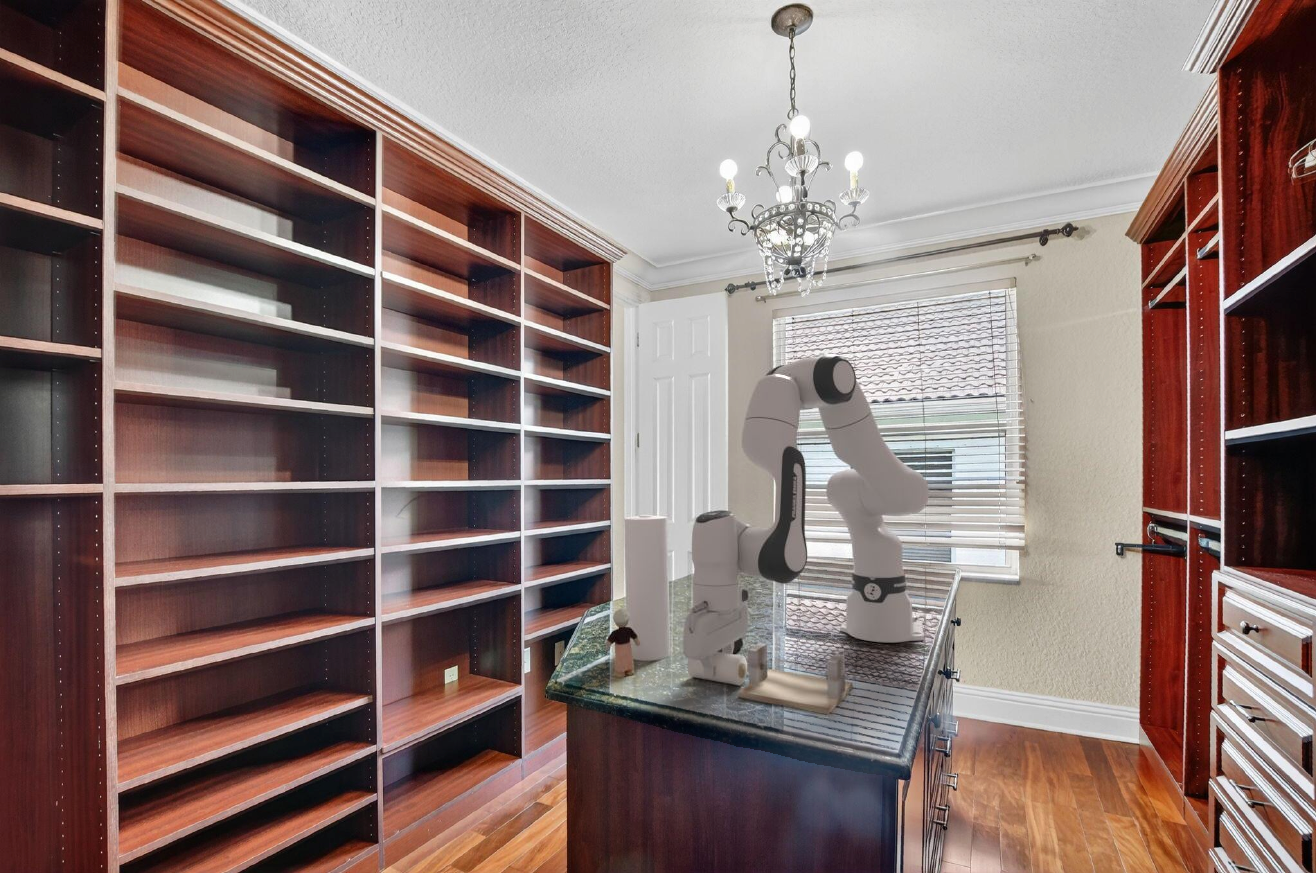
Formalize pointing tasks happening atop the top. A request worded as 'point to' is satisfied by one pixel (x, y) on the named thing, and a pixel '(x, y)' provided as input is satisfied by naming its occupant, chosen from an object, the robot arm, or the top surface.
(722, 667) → the paper roll
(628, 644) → the grandmother figurine
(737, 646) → the electric trimmer
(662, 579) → the cylinder container
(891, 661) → the top surface
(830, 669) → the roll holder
